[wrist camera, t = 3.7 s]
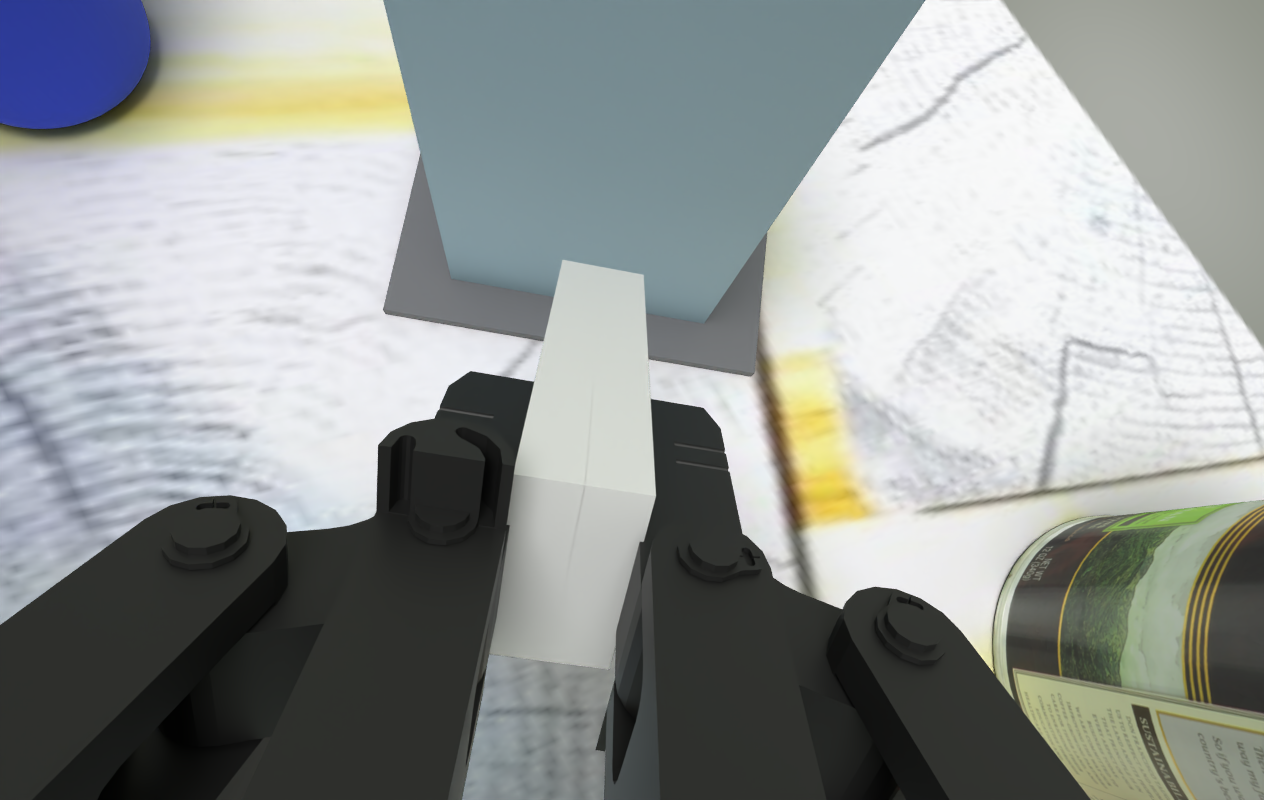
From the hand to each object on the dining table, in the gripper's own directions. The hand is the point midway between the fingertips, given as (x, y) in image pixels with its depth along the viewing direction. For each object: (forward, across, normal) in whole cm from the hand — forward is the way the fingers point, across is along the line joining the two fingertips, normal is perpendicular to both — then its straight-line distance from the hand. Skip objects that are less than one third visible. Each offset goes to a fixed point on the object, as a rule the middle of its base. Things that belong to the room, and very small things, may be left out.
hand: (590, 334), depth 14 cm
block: (+13, 0, -2) cm, 13 cm away
